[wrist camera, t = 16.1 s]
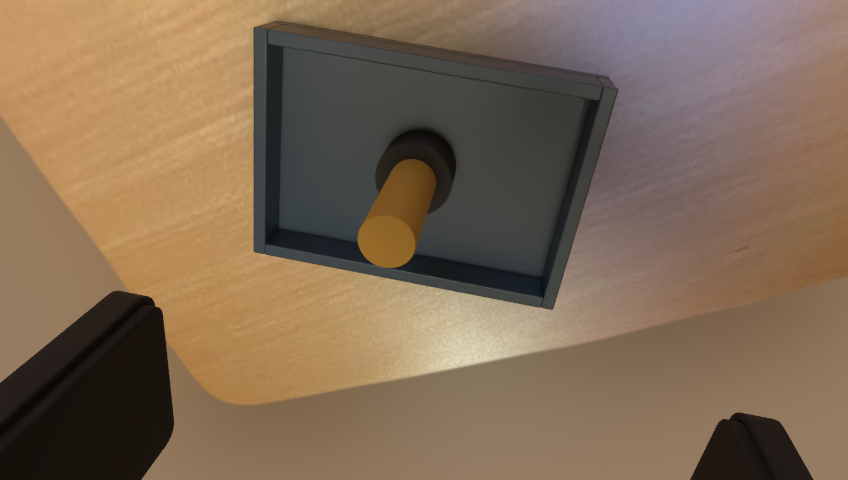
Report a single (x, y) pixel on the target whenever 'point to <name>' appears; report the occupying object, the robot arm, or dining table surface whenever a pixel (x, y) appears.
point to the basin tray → (444, 116)
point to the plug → (406, 196)
